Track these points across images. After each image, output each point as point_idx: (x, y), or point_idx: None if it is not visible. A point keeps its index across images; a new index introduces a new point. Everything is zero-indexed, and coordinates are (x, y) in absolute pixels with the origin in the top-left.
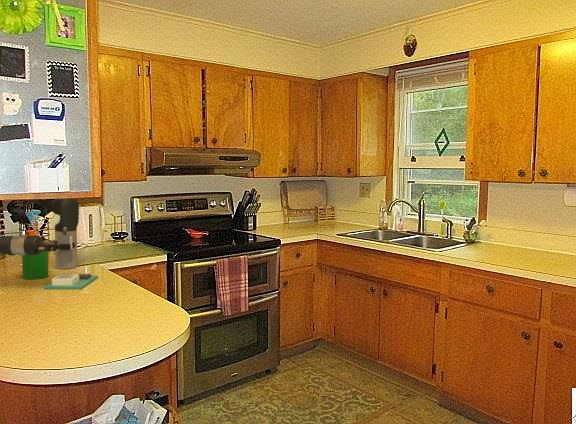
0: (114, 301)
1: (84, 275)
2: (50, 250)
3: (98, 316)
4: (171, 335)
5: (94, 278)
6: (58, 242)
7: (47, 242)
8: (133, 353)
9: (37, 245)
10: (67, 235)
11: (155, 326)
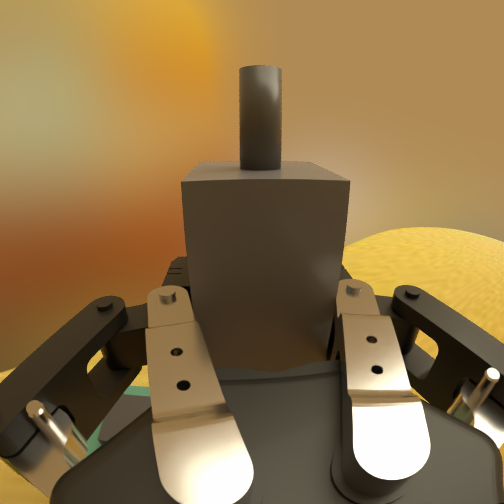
0: (393, 287)
1: (139, 412)
2: (431, 361)
3: (468, 279)
4: (453, 231)
5: (142, 388)
6: (336, 278)
7: (405, 381)
8: (497, 241)
9: (501, 489)
10: (311, 164)
11: (446, 239)
